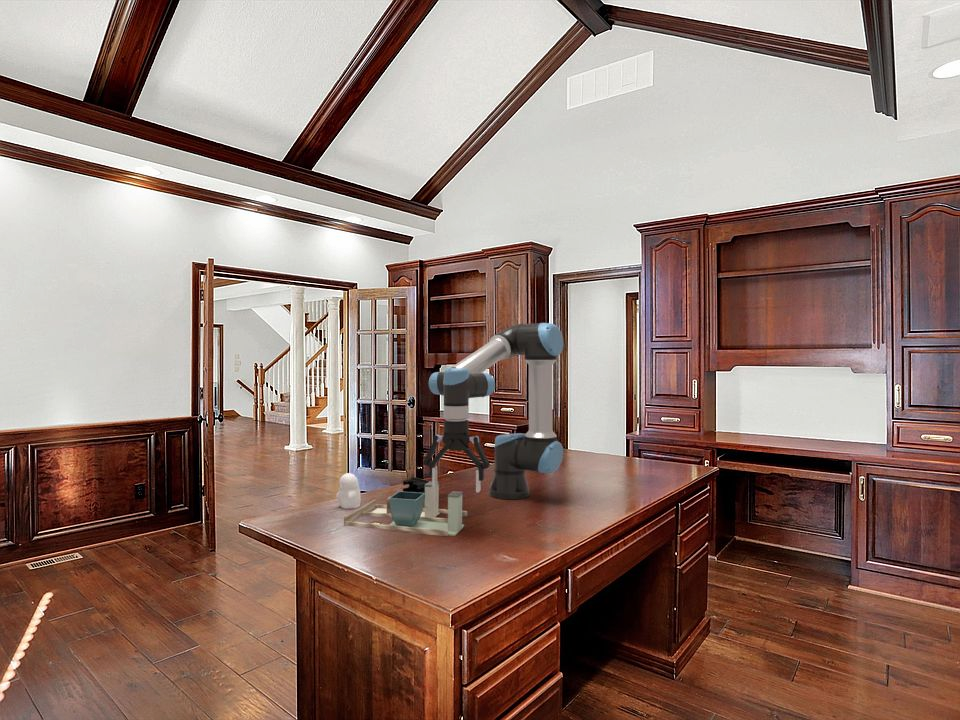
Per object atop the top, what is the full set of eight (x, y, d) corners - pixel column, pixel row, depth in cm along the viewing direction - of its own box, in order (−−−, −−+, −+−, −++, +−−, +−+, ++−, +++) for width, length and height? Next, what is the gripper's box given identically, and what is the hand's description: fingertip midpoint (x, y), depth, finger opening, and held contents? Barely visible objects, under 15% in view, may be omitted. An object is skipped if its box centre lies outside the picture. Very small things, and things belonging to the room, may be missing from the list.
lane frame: (467, 515, 183) (467, 506, 183) (447, 536, 162) (447, 526, 162) (374, 508, 191) (374, 499, 191) (343, 526, 170) (343, 516, 170)
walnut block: (403, 511, 186) (404, 496, 186) (402, 515, 181) (402, 499, 181) (388, 510, 186) (389, 495, 186) (386, 515, 181) (386, 499, 181)
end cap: (434, 498, 206) (434, 479, 206) (419, 501, 201) (419, 482, 201) (416, 493, 213) (417, 475, 213) (401, 496, 208) (402, 478, 208)
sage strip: (464, 526, 172) (464, 490, 172) (455, 535, 162) (455, 497, 162) (397, 520, 177) (397, 485, 177) (384, 529, 168) (385, 492, 168)
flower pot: (416, 529, 166) (416, 499, 166) (388, 527, 168) (388, 497, 168) (425, 521, 175) (425, 492, 175) (398, 519, 176) (398, 491, 176)
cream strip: (440, 514, 184) (440, 481, 184) (432, 521, 176) (432, 486, 176) (377, 509, 189) (378, 476, 189) (367, 515, 182) (368, 481, 182)
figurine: (334, 509, 189) (334, 473, 189) (349, 504, 196) (349, 469, 196) (350, 512, 186) (350, 476, 186) (365, 506, 193) (365, 472, 193)
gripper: (499, 419, 168) (499, 489, 169) (421, 416, 174) (421, 484, 175) (494, 422, 161) (494, 495, 161) (412, 419, 167) (412, 490, 167)
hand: (456, 490), depth 168 cm, fingers open, 13 cm apart
